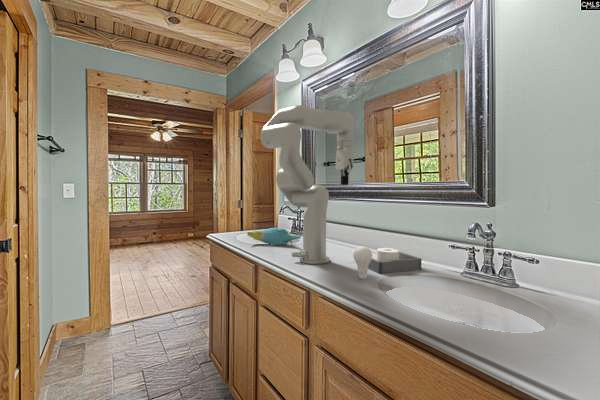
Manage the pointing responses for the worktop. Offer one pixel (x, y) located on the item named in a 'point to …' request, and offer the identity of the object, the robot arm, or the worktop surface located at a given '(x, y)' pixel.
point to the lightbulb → (362, 260)
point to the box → (396, 264)
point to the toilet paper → (387, 254)
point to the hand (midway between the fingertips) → (344, 184)
